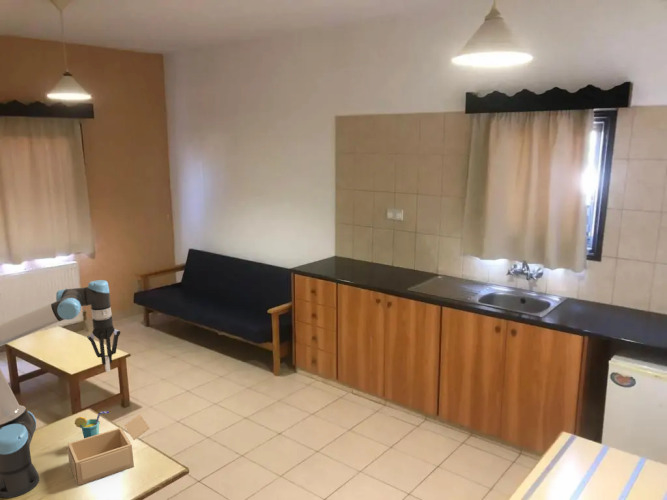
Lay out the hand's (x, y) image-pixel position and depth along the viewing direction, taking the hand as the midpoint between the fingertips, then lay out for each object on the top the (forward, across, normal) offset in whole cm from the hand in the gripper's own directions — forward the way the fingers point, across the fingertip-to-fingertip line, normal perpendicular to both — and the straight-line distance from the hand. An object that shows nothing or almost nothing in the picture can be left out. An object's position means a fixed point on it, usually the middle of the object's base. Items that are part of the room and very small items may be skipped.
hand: (107, 370), depth 227 cm
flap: (+24, +7, -10) cm, 27 cm away
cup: (+37, -7, +9) cm, 38 cm away
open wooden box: (+36, -8, -10) cm, 39 cm away
